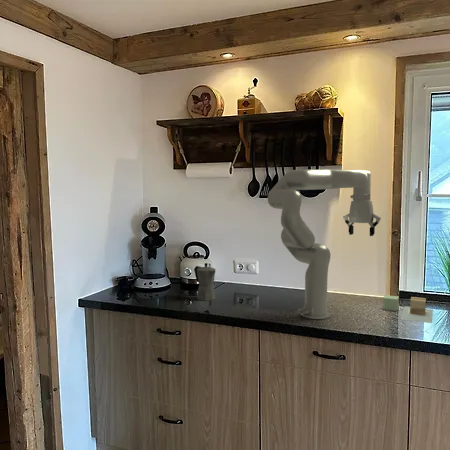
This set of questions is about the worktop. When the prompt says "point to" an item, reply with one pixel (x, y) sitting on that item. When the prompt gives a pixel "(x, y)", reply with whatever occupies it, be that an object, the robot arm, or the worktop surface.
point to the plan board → (417, 315)
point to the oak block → (417, 305)
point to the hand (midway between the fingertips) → (361, 235)
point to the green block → (390, 302)
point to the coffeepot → (205, 282)
